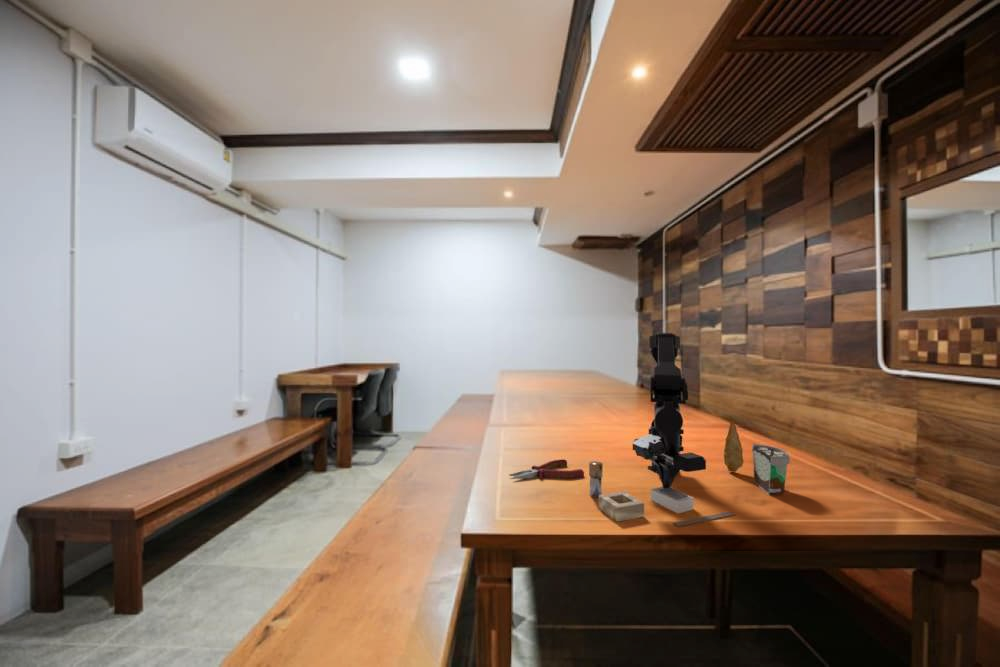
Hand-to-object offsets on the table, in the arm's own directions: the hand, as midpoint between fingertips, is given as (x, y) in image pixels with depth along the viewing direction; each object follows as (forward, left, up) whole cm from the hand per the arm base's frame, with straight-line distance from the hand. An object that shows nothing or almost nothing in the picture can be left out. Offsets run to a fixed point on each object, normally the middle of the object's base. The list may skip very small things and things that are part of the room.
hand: (666, 488), depth 100 cm
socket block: (+2, -15, -3) cm, 15 cm away
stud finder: (+3, -1, -3) cm, 4 cm away
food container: (+4, +31, -3) cm, 32 cm away
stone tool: (-9, +32, -3) cm, 33 cm away
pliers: (-27, -19, -3) cm, 33 cm away
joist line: (+11, 0, -3) cm, 12 cm away
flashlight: (-8, -15, -3) cm, 17 cm away
